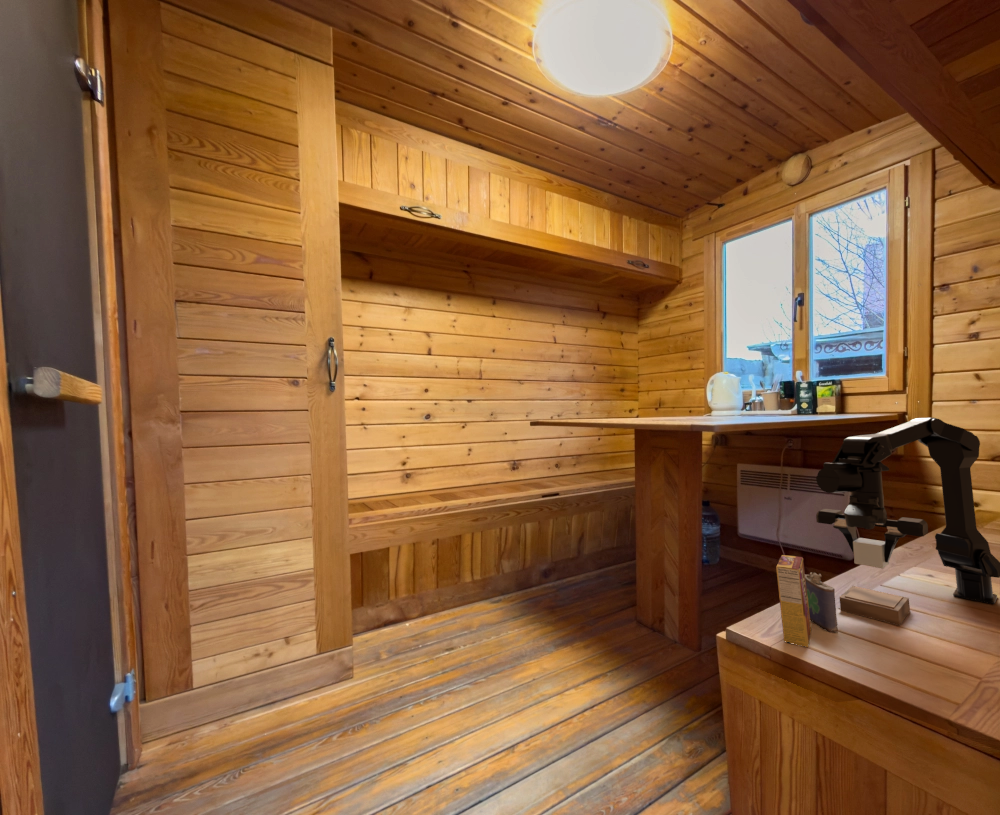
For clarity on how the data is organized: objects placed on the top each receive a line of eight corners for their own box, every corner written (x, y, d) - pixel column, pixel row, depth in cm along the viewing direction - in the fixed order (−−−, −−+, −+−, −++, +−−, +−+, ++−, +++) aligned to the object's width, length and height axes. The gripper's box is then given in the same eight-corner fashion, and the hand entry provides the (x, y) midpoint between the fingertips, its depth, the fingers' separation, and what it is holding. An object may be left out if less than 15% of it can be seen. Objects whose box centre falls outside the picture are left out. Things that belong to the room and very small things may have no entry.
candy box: (787, 625, 91) (781, 554, 92) (811, 630, 89) (805, 557, 89) (781, 642, 84) (775, 565, 85) (808, 648, 82) (801, 569, 82)
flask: (841, 633, 87) (836, 580, 87) (825, 633, 87) (820, 580, 88) (814, 613, 96) (810, 566, 96) (800, 613, 96) (796, 566, 97)
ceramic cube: (860, 558, 100) (859, 537, 100) (889, 564, 96) (887, 541, 96) (854, 563, 97) (852, 541, 97) (883, 568, 93) (881, 545, 93)
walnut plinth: (853, 598, 103) (852, 584, 103) (910, 611, 95) (908, 596, 95) (840, 610, 97) (839, 596, 97) (899, 625, 89) (897, 609, 89)
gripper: (805, 490, 100) (810, 557, 99) (914, 499, 85) (920, 578, 84) (822, 485, 106) (826, 548, 106) (925, 493, 91) (931, 566, 91)
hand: (871, 559), depth 96 cm, fingers closed on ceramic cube, 5 cm apart
